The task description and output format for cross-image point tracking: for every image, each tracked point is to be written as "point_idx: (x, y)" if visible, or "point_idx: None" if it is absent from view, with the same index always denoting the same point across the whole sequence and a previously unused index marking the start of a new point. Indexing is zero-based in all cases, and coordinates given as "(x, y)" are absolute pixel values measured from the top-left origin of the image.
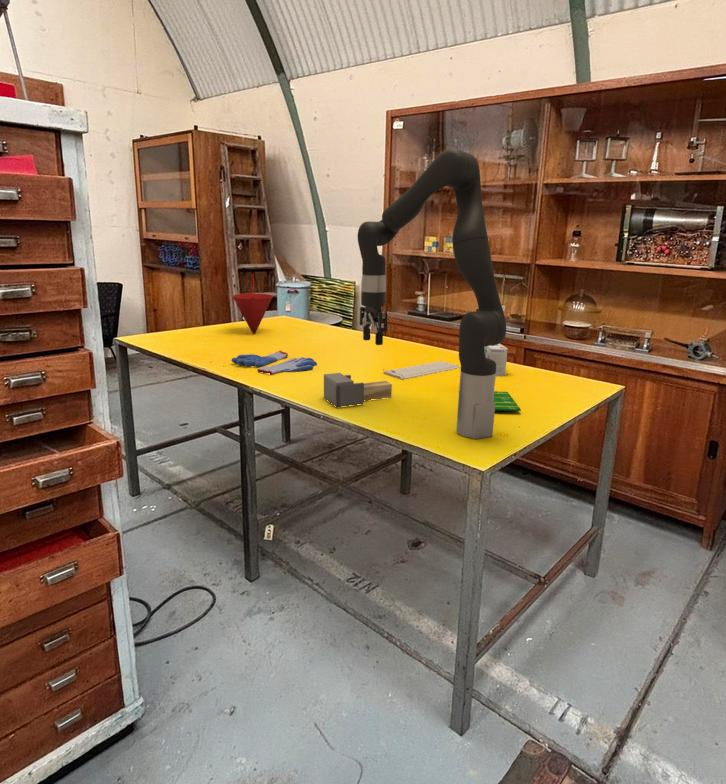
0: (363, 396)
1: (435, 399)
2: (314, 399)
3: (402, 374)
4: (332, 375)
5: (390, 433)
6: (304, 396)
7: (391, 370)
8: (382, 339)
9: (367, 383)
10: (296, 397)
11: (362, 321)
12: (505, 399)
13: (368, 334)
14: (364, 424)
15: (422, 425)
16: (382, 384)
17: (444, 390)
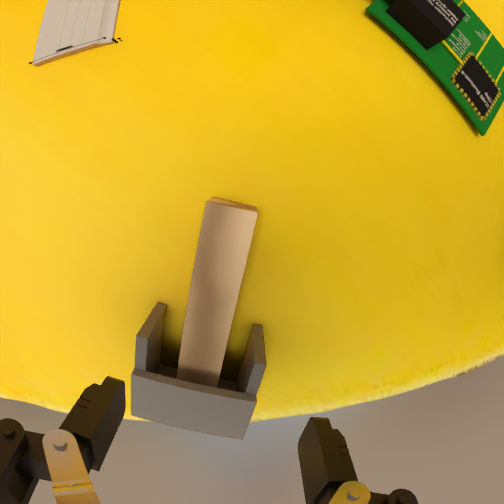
0: (263, 339)
1: (354, 99)
2: None
3: (87, 24)
4: (155, 408)
5: (433, 373)
6: None
7: (56, 50)
8: (347, 450)
9: (197, 288)
10: None
11: (31, 484)
12: (468, 19)
13: (109, 416)
14: (370, 392)
15: (457, 296)
16: (241, 250)
17: (293, 8)
